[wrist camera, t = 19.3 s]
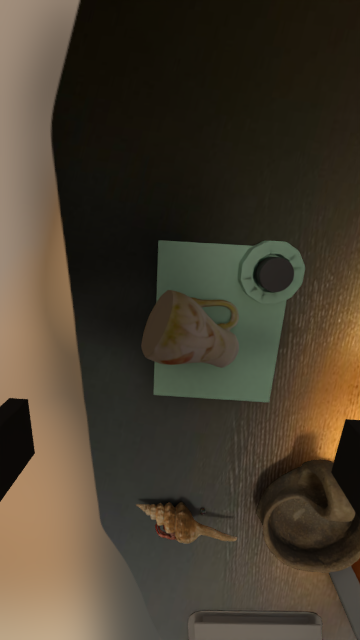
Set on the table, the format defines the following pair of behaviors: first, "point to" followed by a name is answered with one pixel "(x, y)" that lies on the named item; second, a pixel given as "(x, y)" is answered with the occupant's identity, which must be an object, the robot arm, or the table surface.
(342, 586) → the alarm clock
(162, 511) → the spiral seashell
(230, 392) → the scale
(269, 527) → the bowl
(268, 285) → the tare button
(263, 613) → the book
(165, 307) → the mug
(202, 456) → the table surface
